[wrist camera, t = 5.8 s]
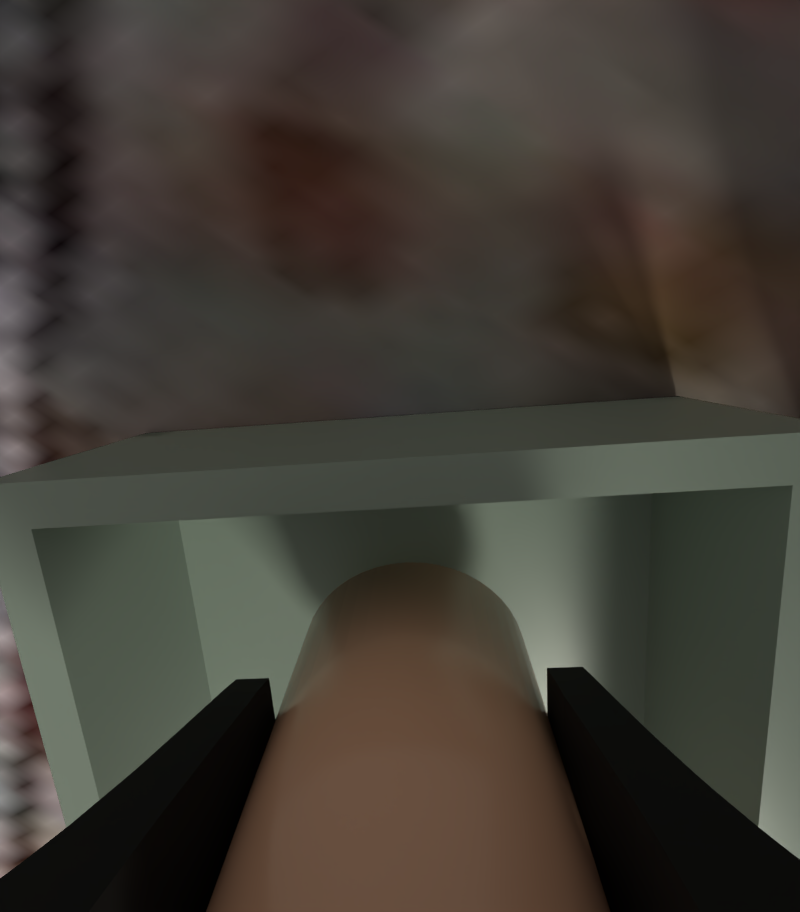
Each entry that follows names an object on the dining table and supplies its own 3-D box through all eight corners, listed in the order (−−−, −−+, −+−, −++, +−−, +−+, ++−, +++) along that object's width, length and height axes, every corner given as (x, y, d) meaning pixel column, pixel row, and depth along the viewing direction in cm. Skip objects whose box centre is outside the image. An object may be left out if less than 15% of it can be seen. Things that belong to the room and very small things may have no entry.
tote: (677, 396, 12) (855, 429, 7) (652, 940, 16) (756, 1209, 11) (145, 433, 13) (-28, 485, 8) (242, 941, 16) (165, 1190, 12)
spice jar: (525, 557, 10) (736, 1036, 3) (525, 747, 11) (674, 1359, 5) (290, 567, 10) (50, 1028, 4) (317, 751, 12) (179, 1334, 5)
